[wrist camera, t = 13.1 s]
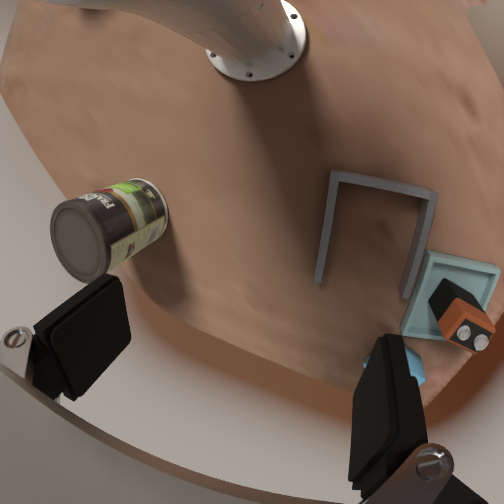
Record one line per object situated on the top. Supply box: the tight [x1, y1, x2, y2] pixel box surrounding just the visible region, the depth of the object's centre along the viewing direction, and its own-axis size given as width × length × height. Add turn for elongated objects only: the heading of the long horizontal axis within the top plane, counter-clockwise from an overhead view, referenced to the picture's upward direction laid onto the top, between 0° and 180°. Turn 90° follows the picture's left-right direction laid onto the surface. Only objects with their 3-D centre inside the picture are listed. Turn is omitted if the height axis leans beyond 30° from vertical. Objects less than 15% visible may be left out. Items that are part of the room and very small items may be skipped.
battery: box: [428, 278, 496, 354], centre depth 30 cm, size 4×7×10 cm, turn 69°
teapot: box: [363, 345, 426, 386], centre depth 37 cm, size 12×6×8 cm, turn 59°
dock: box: [313, 169, 438, 299], centre depth 34 cm, size 14×13×2 cm
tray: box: [400, 250, 501, 341], centre depth 34 cm, size 12×12×2 cm
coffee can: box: [50, 178, 168, 284], centre depth 36 cm, size 10×10×14 cm
